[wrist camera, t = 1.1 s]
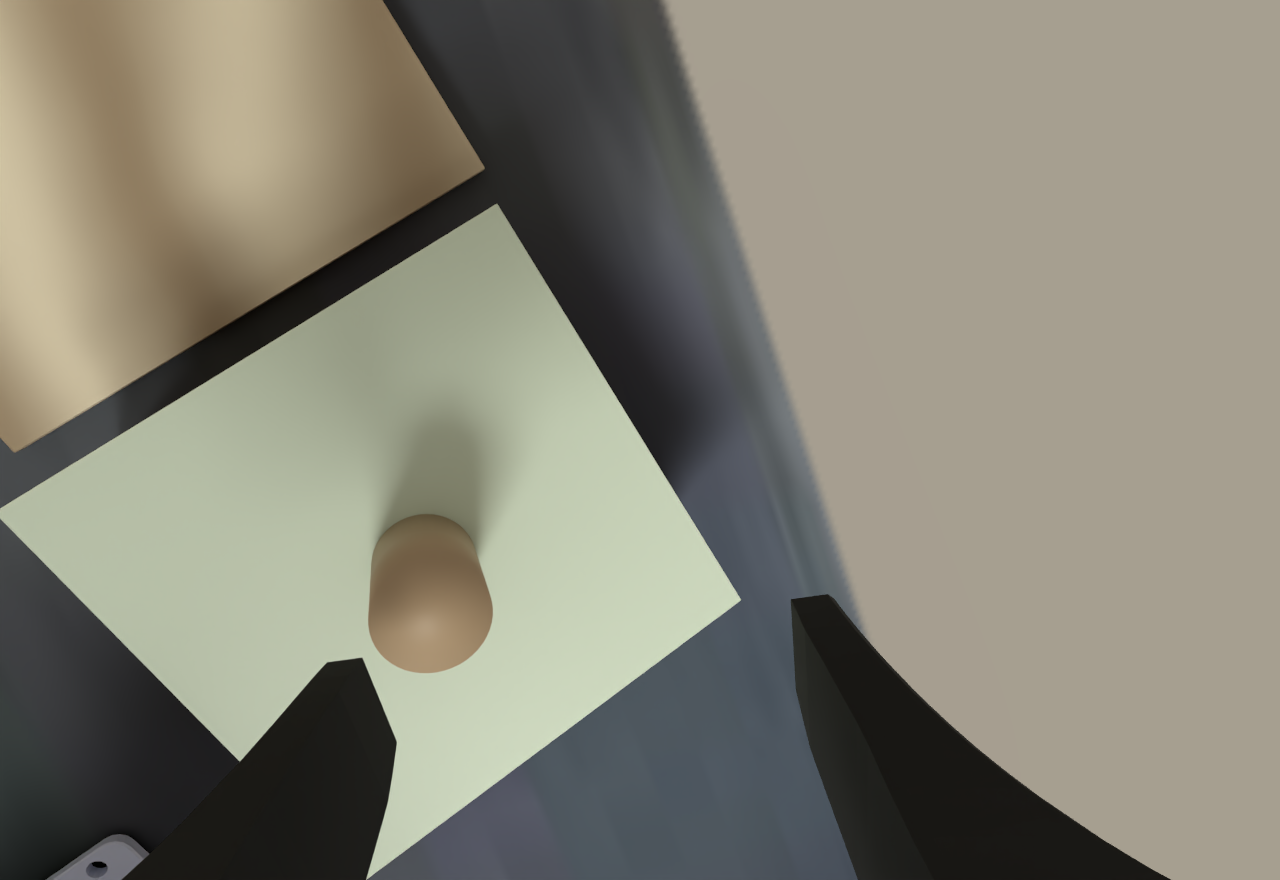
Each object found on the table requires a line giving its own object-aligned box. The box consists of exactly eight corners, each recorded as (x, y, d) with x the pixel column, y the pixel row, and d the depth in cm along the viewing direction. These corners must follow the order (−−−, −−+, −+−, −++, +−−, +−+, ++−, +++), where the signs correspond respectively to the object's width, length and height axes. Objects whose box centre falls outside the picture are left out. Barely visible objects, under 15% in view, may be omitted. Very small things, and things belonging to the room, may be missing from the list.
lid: (361, 846, 21) (355, 992, 17) (24, 494, 17) (-99, 566, 13) (720, 581, 23) (798, 651, 18) (489, 208, 19) (519, 187, 14)
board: (24, 447, 20) (14, 452, 20) (-501, -114, 16) (-534, -128, 15) (482, 171, 22) (485, 168, 22) (136, -395, 18) (128, -417, 17)
